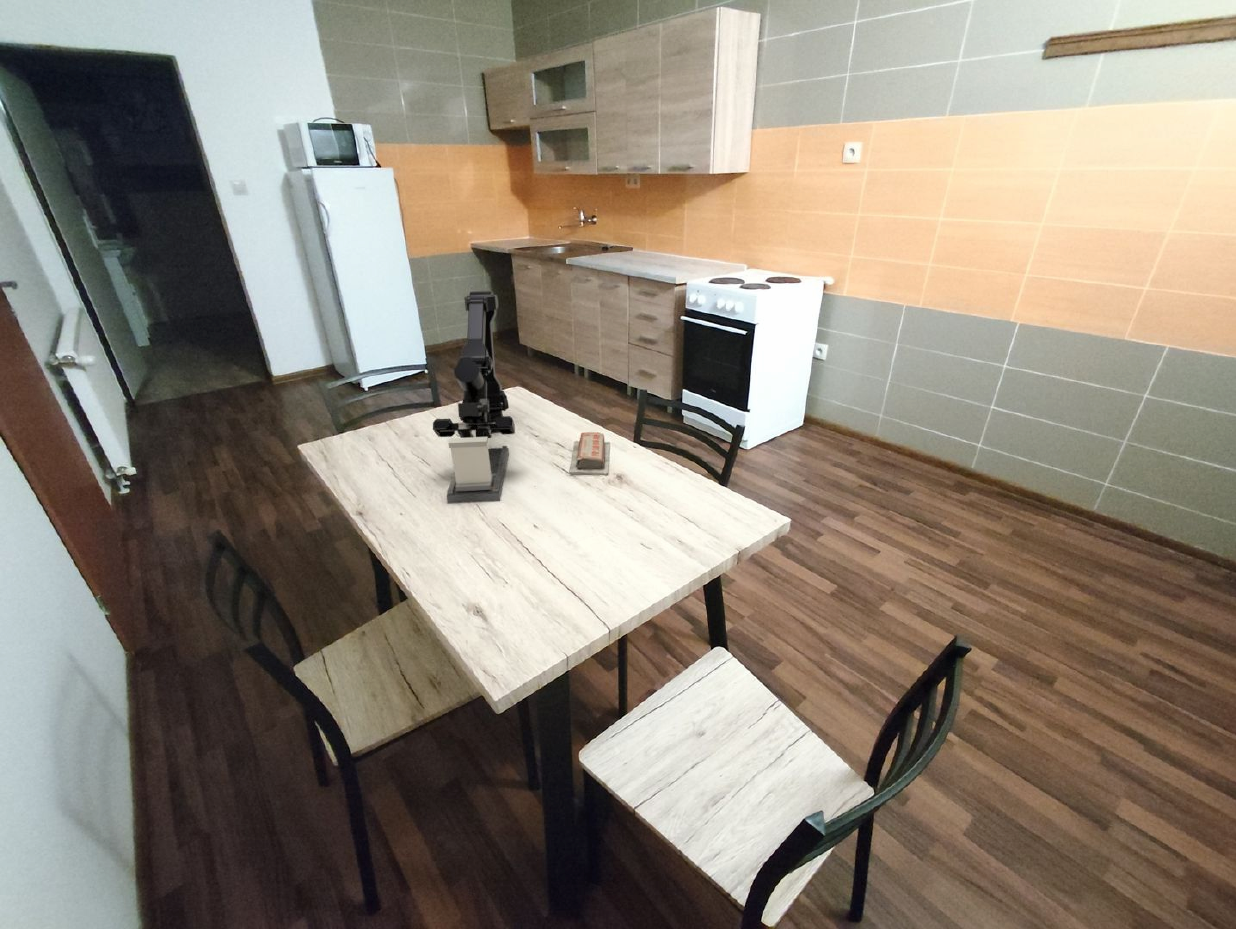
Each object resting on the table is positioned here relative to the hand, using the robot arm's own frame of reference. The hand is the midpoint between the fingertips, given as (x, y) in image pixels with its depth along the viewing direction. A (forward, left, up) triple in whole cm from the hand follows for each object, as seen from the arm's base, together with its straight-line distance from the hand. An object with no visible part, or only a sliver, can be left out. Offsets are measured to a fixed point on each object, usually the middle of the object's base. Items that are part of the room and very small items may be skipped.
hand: (474, 460), depth 135 cm
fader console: (-4, +2, -7) cm, 9 cm away
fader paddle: (+3, -1, -5) cm, 6 cm away
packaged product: (+1, +30, -8) cm, 31 cm away
